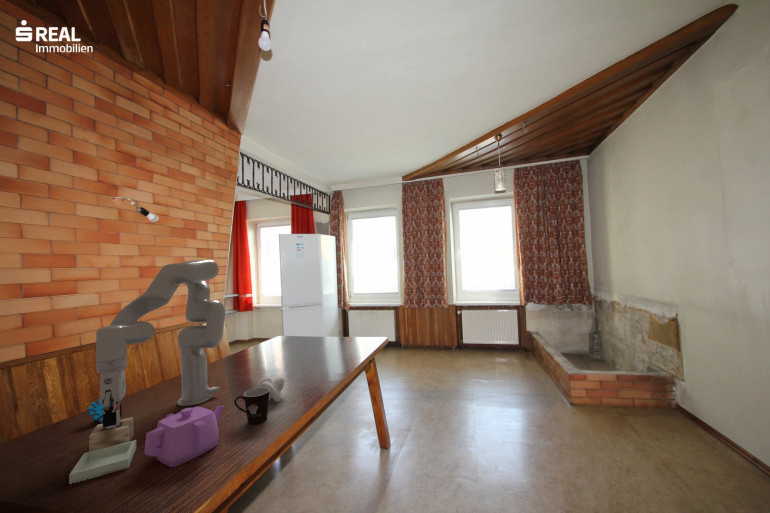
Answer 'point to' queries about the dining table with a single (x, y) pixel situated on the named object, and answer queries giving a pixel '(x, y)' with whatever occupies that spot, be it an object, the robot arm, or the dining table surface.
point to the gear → (96, 410)
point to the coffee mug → (255, 405)
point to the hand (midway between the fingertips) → (112, 420)
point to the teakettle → (184, 435)
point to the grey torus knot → (272, 387)
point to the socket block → (111, 435)
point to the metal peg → (117, 417)
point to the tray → (103, 461)
